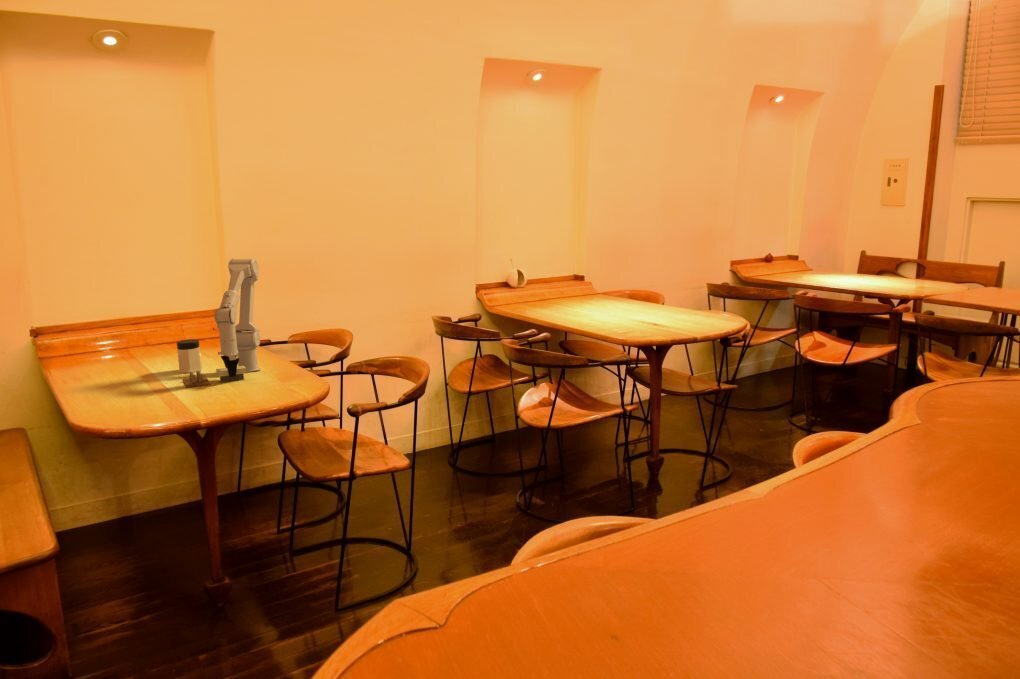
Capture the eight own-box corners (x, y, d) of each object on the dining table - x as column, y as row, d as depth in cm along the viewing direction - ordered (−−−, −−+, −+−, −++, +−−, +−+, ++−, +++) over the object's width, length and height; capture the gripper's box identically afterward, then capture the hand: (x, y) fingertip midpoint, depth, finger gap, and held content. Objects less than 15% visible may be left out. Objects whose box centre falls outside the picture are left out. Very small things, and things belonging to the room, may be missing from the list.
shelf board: (218, 376, 272) (217, 371, 271) (216, 374, 276) (216, 369, 275) (246, 373, 276) (245, 368, 276) (244, 370, 280) (243, 365, 280)
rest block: (220, 380, 276) (219, 374, 275) (242, 377, 280) (242, 371, 279) (221, 382, 273) (220, 376, 273) (243, 379, 277) (243, 373, 277)
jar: (201, 372, 290) (198, 342, 287) (179, 374, 287) (175, 344, 285) (202, 367, 298) (199, 338, 296) (180, 369, 295) (177, 340, 293)
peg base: (183, 379, 279) (182, 370, 278) (205, 376, 282) (204, 368, 282) (186, 387, 267) (185, 378, 266) (210, 384, 270) (209, 375, 270)
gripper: (214, 337, 278) (217, 372, 281) (219, 344, 265) (223, 380, 268) (233, 335, 281) (237, 370, 284) (240, 342, 269) (243, 378, 271)
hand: (231, 375), depth 276 cm, fingers closed on shelf board, 4 cm apart
